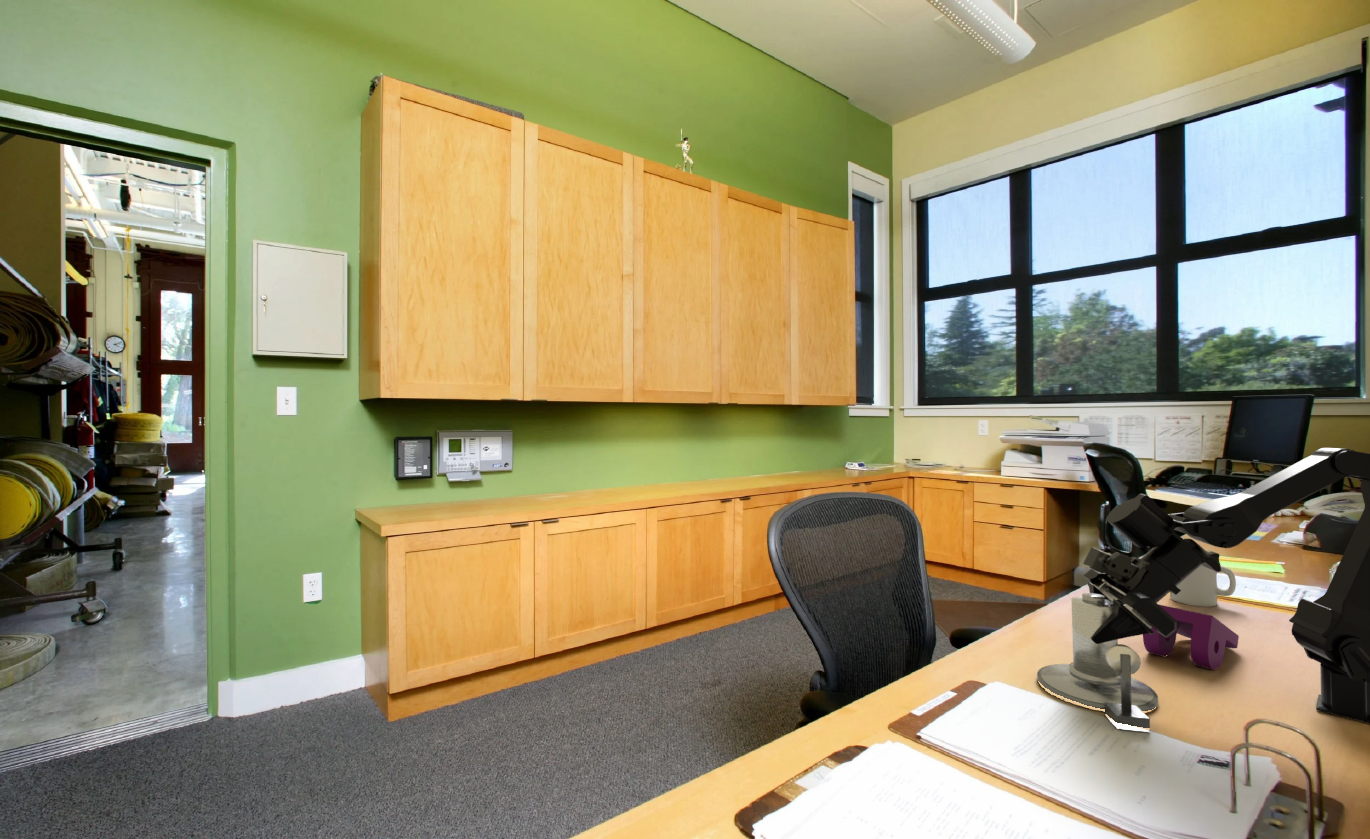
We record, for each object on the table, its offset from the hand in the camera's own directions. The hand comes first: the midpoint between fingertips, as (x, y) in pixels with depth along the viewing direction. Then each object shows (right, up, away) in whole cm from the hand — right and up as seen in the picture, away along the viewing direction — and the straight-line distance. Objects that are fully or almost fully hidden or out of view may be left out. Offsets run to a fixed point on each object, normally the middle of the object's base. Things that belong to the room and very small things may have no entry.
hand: (1085, 634), depth 96 cm
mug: (+57, -8, +43) cm, 71 cm away
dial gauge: (-1, -9, -11) cm, 14 cm away
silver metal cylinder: (+1, -7, 0) cm, 7 cm away
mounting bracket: (+30, -9, +14) cm, 34 cm away
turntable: (+1, -9, 0) cm, 9 cm away
